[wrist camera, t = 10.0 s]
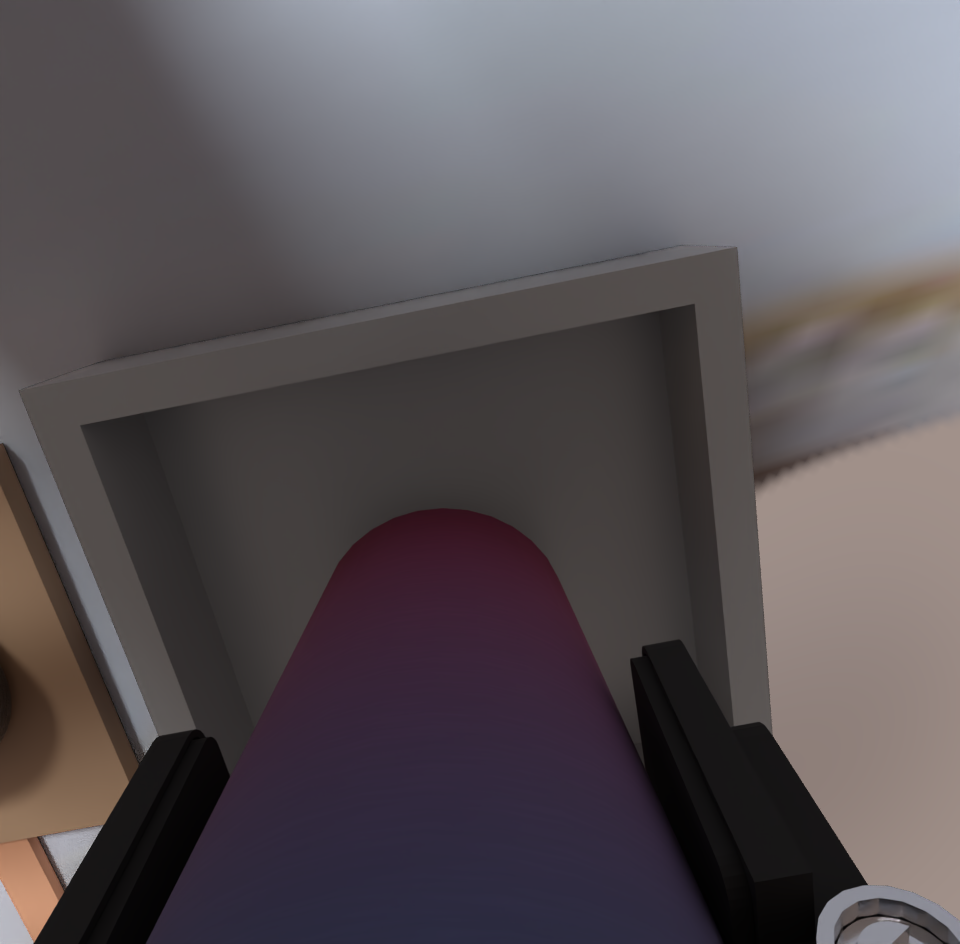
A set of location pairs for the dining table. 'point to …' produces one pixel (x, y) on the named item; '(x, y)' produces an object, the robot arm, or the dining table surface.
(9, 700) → the crank
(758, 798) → the robot arm
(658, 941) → the cup
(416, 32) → the dining table surface
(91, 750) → the crank base
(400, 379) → the tray
